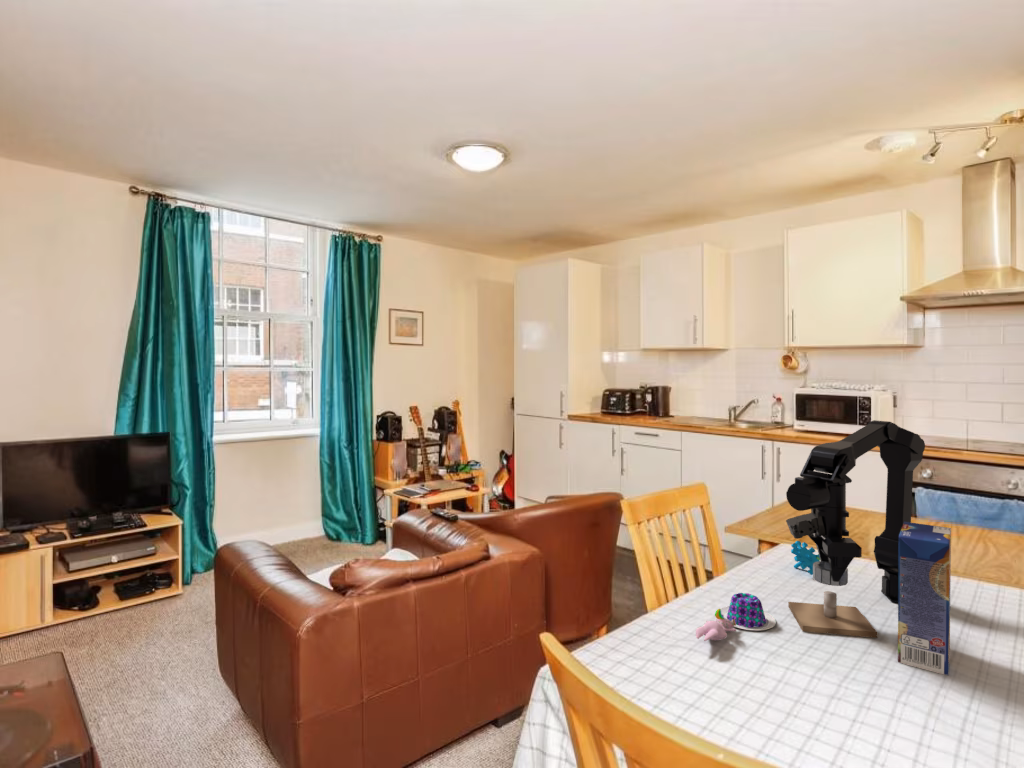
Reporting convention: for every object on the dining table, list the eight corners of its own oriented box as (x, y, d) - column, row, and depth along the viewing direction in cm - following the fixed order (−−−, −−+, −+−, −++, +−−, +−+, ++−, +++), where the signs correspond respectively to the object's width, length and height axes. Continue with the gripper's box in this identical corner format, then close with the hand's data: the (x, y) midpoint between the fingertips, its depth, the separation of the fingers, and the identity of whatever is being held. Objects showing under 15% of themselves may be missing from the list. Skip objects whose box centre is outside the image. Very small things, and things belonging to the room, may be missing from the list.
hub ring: (841, 575, 123) (841, 562, 123) (851, 586, 117) (851, 572, 117) (809, 573, 124) (809, 560, 124) (818, 584, 118) (818, 570, 118)
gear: (809, 574, 143) (787, 539, 149) (793, 585, 147) (772, 550, 153) (836, 572, 148) (814, 538, 154) (820, 583, 151) (799, 549, 158)
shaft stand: (855, 612, 125) (856, 585, 125) (877, 637, 113) (877, 608, 113) (788, 606, 128) (788, 580, 128) (802, 631, 117) (802, 602, 116)
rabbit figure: (714, 627, 122) (685, 643, 110) (715, 599, 122) (686, 612, 111) (743, 636, 118) (716, 653, 106) (744, 607, 118) (717, 621, 107)
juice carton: (948, 676, 99) (949, 544, 99) (897, 662, 104) (898, 536, 103) (949, 648, 109) (951, 527, 108) (903, 637, 113) (904, 521, 113)
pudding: (780, 616, 124) (780, 593, 124) (770, 639, 114) (770, 614, 114) (724, 604, 131) (724, 582, 131) (710, 624, 121) (710, 601, 121)
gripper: (779, 493, 131) (780, 558, 131) (801, 514, 113) (801, 589, 113) (832, 494, 128) (832, 561, 129) (862, 516, 110) (862, 594, 111)
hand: (830, 575), depth 120 cm, fingers closed on hub ring, 6 cm apart
